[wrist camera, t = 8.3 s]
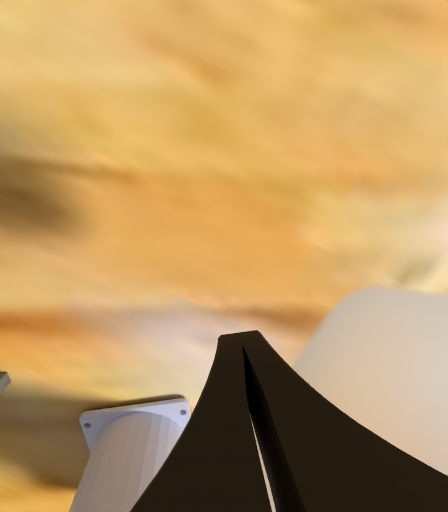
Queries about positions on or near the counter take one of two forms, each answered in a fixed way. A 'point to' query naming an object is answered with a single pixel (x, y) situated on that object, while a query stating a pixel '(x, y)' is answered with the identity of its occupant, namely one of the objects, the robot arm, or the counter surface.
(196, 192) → the counter surface
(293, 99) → the counter surface
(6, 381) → the box
